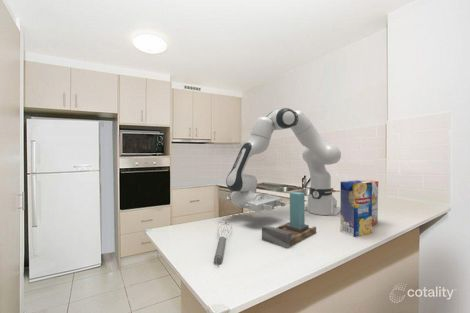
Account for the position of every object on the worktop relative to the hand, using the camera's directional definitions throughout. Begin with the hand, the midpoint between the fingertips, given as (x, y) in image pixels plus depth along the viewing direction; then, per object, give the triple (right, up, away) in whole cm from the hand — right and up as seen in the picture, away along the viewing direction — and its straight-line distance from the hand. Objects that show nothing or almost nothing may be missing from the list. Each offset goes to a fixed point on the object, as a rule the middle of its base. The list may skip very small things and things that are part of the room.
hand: (278, 206), depth 104 cm
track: (+3, -10, -10) cm, 15 cm away
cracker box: (+43, -10, +3) cm, 44 cm away
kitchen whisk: (-25, -11, -19) cm, 33 cm away
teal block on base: (+7, -8, -7) cm, 13 cm away
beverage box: (+32, -10, -7) cm, 34 cm away
